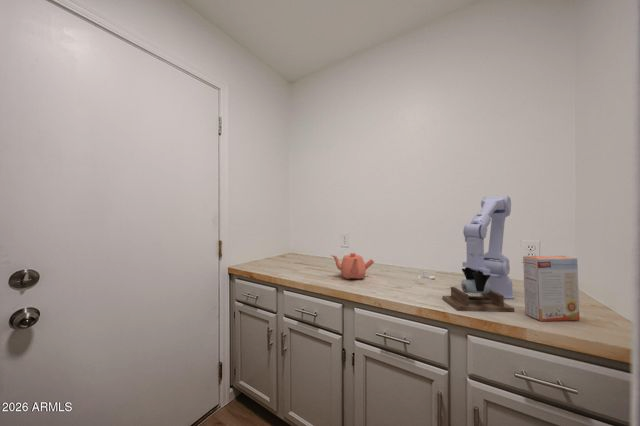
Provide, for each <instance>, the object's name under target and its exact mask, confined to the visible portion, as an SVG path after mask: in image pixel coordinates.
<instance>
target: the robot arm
mask: <svg viewBox="0 0 640 426" xmlns="http://www.w3.org/2000/svg"><path fill="white" fill-rule="evenodd" d="M480 207H481V210H480V212H478V213H476V214H475V215H474V216H473V218H472V219H471V221H470V223H467V224H465V225H464V226H463V227H464V228H463V232H462V233H463V237H464V242H465V243H466V245H465V246H466V247H465V248H466V261H462V267H463V268H461V271H462V273H463V275H464V277H465V280H475V284H476V290H477V291H479V292H483V291H484V288H485V284H486V282H487V281H488V283H489V285H490V290H492V291H494V292H497V293H499V294H501V295H503V296H504V299H515V297H514V296H513V294H514V293H513V292H514V291H513V281H512V278H511V277H510V276H509V274H510V271H511V270H510V266H511V265H510V260H509V258H508V257H507V256H505V255H504V254H503V243H504V233H505V232H504V231H505V221H506V218H507V217H509V216H510V215H511V212H512V211H511V210H512V200H511V198H510V196H509V195H502V196H483V198H482V199H481V200H480ZM489 224H490V225H489ZM488 226H490V232H489V242H488V251H487V252H485V240H484V239H486V238H487V234H488V233H487V232H488Z"/></svg>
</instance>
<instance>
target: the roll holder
mask: <svg viewBox="0 0 640 426" xmlns="http://www.w3.org/2000/svg"><path fill="white" fill-rule="evenodd" d="M481 294H482V295H481V296H479V295H478V296H477V295H474V296H473V295H472V296H471V295H469V293H465V292H464V291H463V290H461V289H459V288H457V287H455V286H450V295H442V298H441V299H442V300H443V301H444V302H446V303H447V304H448V305H450V306H451V307H452V308H454V309H455V311H456V310H457V311H458V312H459V311H460V312H492V313H493V312H494V313H495V312H499V313H500V312H501V313H503V312H504V313H515V307H514V306H511V305H509V304H508V303H505V301H504V299H505V298H504V296H503V295H501V294H499V293H497V292H494V291H492V290H490V292H489V293H481Z"/></svg>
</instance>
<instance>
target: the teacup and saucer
mask: <svg viewBox="0 0 640 426" xmlns="http://www.w3.org/2000/svg"><path fill="white" fill-rule="evenodd" d="M419 273H420V275H418V277H417V278H418V279H421V280H423V279H424V280H427V281H428V280H435V279H436V276H435V275H430V276H429V271H428V270H422V271H420V272H419Z"/></svg>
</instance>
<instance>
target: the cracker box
mask: <svg viewBox="0 0 640 426" xmlns="http://www.w3.org/2000/svg"><path fill="white" fill-rule="evenodd" d="M522 257H523V258H522V259H523V263H522V264H523V286H524V287H523V288H524V289H523V290H524V309H525V310H524V311H525V312H524V313H525V314H524V315H526V316H528V317H531V318H532V319H535V320H537V321H539V322H555V321H558V322H561V321H580V319H581V317H580V316H581V315H580V295H579V290H580V289H579V273H578V272H579V270H578V269H579V268H578V258H577V257H572V256H571V257H570V256H566V255H532V256H530V255H529V256H528V255H526V256H525V255H524V256H522Z"/></svg>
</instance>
